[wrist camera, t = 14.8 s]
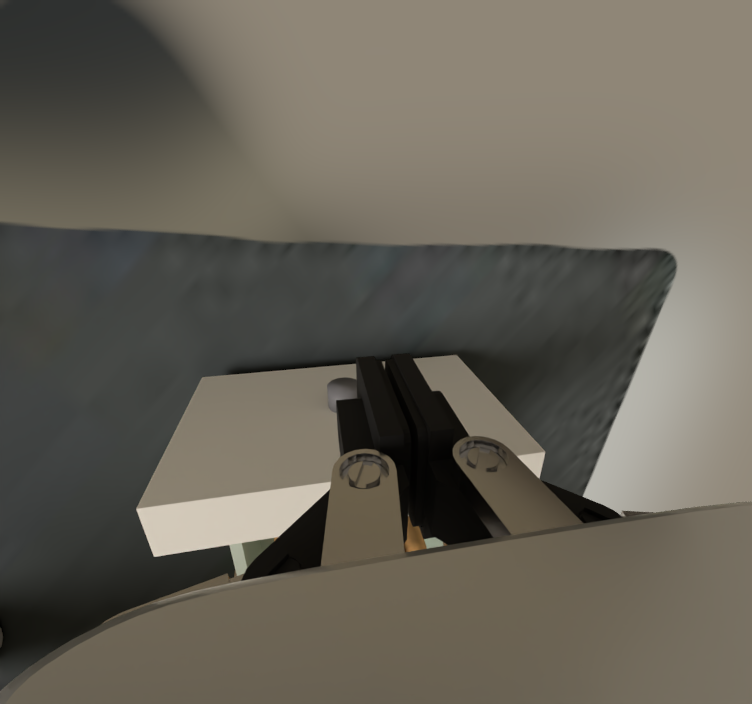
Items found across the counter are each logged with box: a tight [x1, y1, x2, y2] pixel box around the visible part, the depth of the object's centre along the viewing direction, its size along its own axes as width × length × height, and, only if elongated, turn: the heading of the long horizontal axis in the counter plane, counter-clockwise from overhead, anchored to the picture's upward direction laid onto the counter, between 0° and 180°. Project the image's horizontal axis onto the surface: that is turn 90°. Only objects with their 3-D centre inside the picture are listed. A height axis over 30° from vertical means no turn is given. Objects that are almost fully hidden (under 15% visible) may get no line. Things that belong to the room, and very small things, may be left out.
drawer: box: [136, 355, 545, 576], centre depth 27 cm, size 19×24×12 cm
